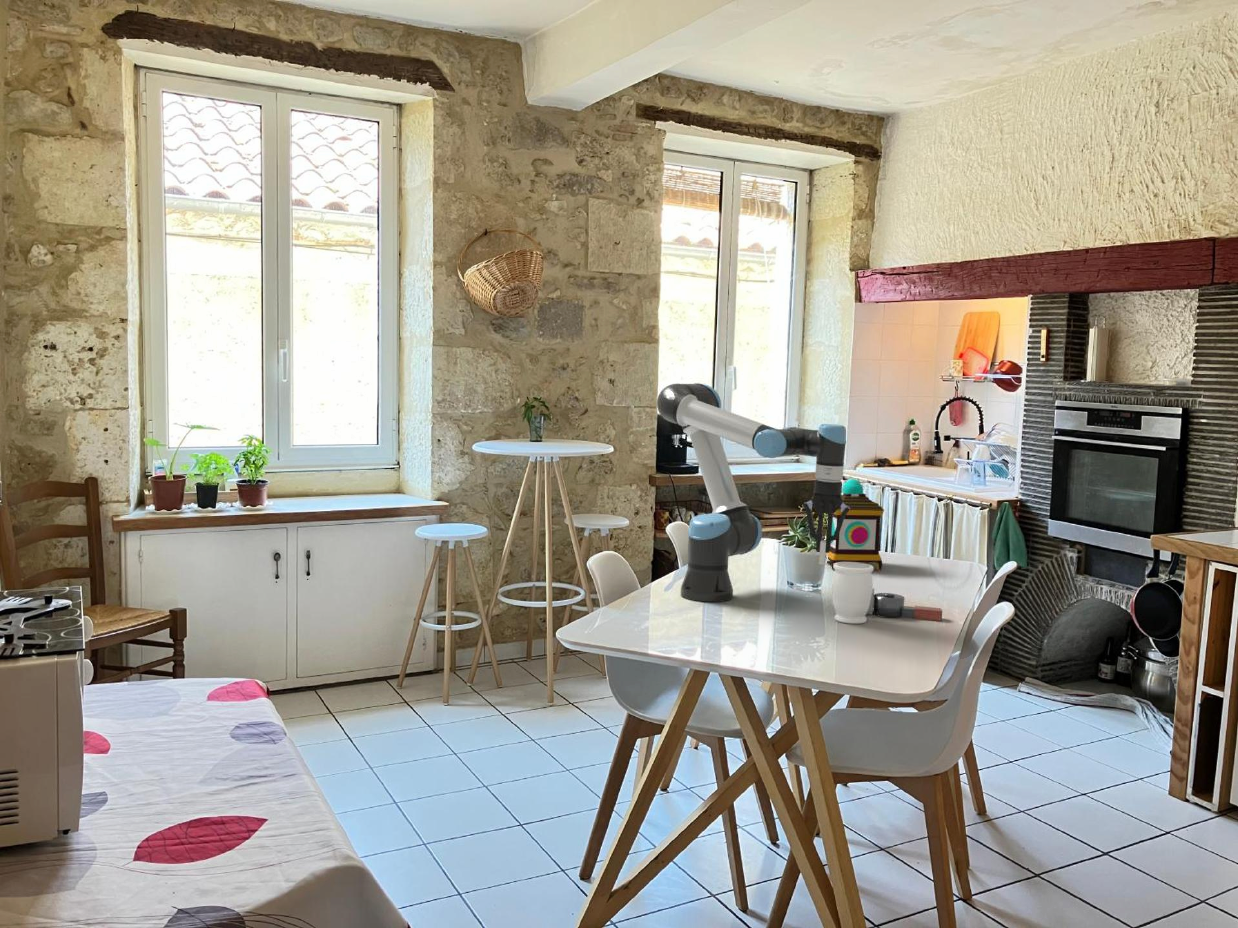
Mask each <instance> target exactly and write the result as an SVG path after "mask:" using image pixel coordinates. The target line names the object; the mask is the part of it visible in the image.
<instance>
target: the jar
mask: <svg viewBox="0 0 1238 928" xmlns="http://www.w3.org/2000/svg"><path fill="white" fill-rule="evenodd" d="M833 568H834V569H835V570H834V573H833V577H832V581H831V593H832V594H831V595H832V599H833V600H832V602H833V607H834V611H835V613H836V614H835V615H834V616H833V617H834V620H835V621H837V622H840V623H842V624H843V623H844V624H853V625H859V624H860V625H861V624H865V623H866V622H867V620H868V619H867V617H866V615H867V614H866V613H867V611H868V609H869V605H870V600H871V596H872V590H873V589H874V588H873V587H874V586H873V585H874V584H873V575H872V572H873V571H874V566H873V565H871V564H869V563H858V562H837V563H834V564H833Z"/></svg>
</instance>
